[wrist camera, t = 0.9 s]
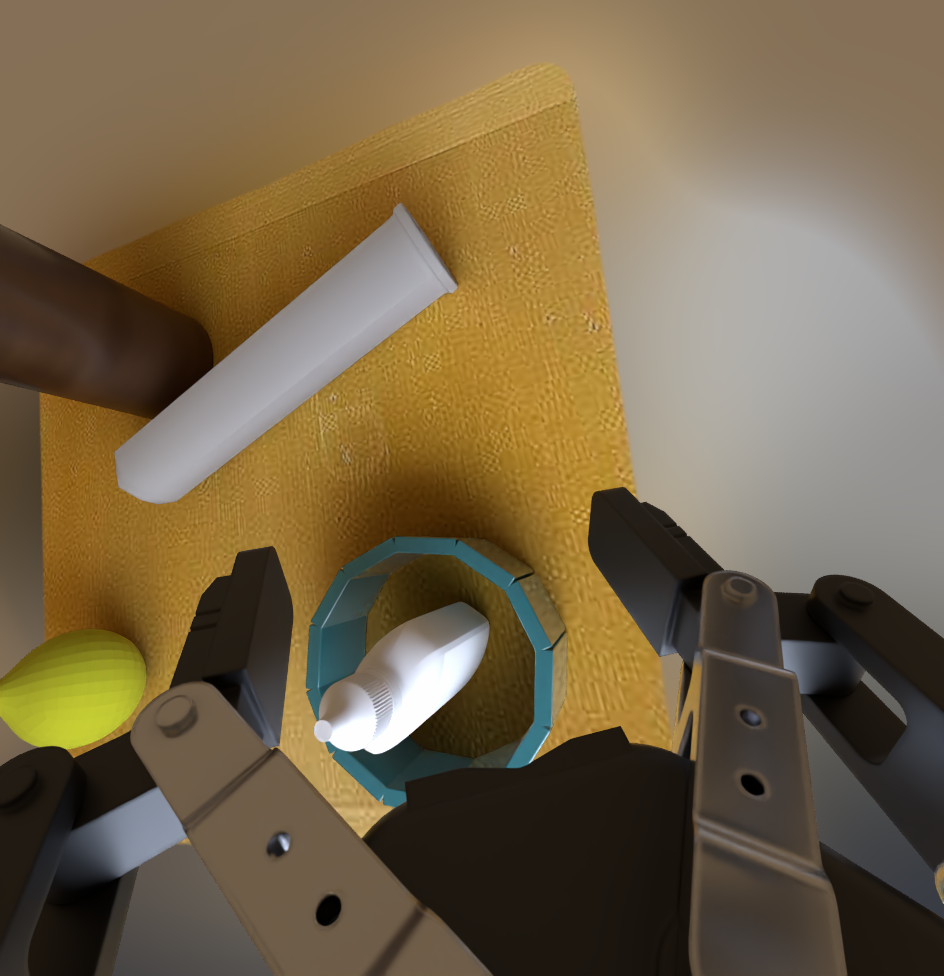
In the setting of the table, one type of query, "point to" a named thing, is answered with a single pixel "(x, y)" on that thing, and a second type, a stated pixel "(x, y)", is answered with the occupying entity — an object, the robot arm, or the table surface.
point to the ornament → (73, 688)
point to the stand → (91, 334)
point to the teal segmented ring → (344, 639)
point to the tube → (287, 360)
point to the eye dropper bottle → (404, 680)
